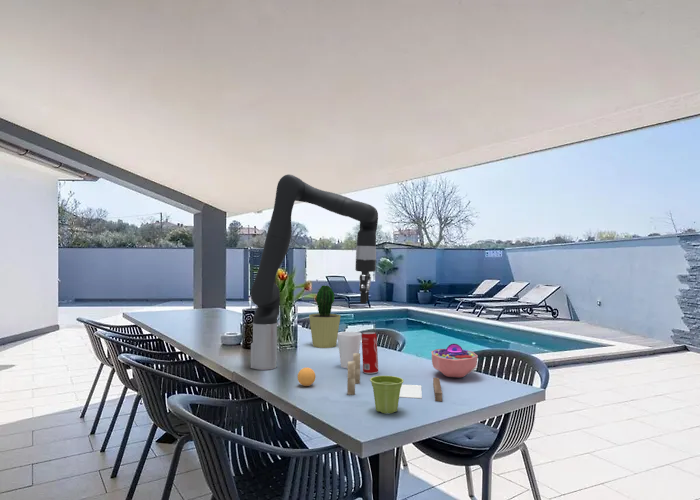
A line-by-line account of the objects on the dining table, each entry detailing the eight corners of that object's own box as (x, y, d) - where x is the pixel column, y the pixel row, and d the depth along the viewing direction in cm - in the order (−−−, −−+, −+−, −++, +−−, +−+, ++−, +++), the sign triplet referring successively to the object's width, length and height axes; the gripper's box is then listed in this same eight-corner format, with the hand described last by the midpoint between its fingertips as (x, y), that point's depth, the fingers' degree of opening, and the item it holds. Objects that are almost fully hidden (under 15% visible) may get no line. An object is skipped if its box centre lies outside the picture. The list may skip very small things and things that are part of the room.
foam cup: (343, 370, 176) (344, 336, 176) (333, 365, 184) (333, 332, 184) (365, 367, 180) (365, 334, 180) (354, 362, 188) (354, 331, 188)
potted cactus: (304, 348, 218) (305, 284, 218) (312, 342, 233) (313, 283, 233) (336, 349, 215) (337, 285, 216) (342, 343, 230) (343, 283, 231)
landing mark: (376, 395, 143) (376, 395, 143) (379, 383, 157) (379, 383, 157) (421, 398, 141) (421, 397, 141) (421, 386, 155) (421, 385, 155)
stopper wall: (435, 401, 139) (435, 392, 139) (433, 385, 156) (433, 377, 157) (442, 401, 138) (442, 393, 138) (439, 385, 156) (439, 377, 156)
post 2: (352, 383, 157) (352, 354, 157) (353, 381, 159) (353, 352, 159) (359, 384, 156) (359, 354, 157) (360, 382, 159) (360, 353, 159)
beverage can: (377, 375, 169) (377, 334, 169) (359, 373, 170) (360, 333, 171) (379, 371, 175) (379, 331, 175) (362, 370, 176) (363, 330, 176)
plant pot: (367, 405, 134) (368, 375, 134) (399, 404, 135) (400, 375, 135) (372, 416, 125) (372, 384, 125) (406, 415, 126) (406, 383, 126)
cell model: (425, 380, 163) (425, 348, 163) (436, 367, 182) (436, 339, 182) (474, 385, 157) (474, 352, 157) (480, 372, 175) (480, 342, 176)
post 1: (346, 394, 144) (347, 362, 144) (347, 392, 146) (348, 361, 146) (354, 395, 144) (354, 363, 144) (355, 393, 146) (355, 361, 146)
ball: (295, 387, 151) (295, 369, 151) (299, 382, 157) (300, 365, 157) (313, 388, 150) (313, 370, 150) (317, 383, 156) (317, 366, 156)
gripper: (357, 258, 178) (356, 300, 178) (353, 258, 164) (352, 303, 164) (377, 258, 177) (376, 301, 177) (374, 258, 163) (373, 304, 163)
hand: (364, 302), depth 170 cm, fingers open, 8 cm apart
